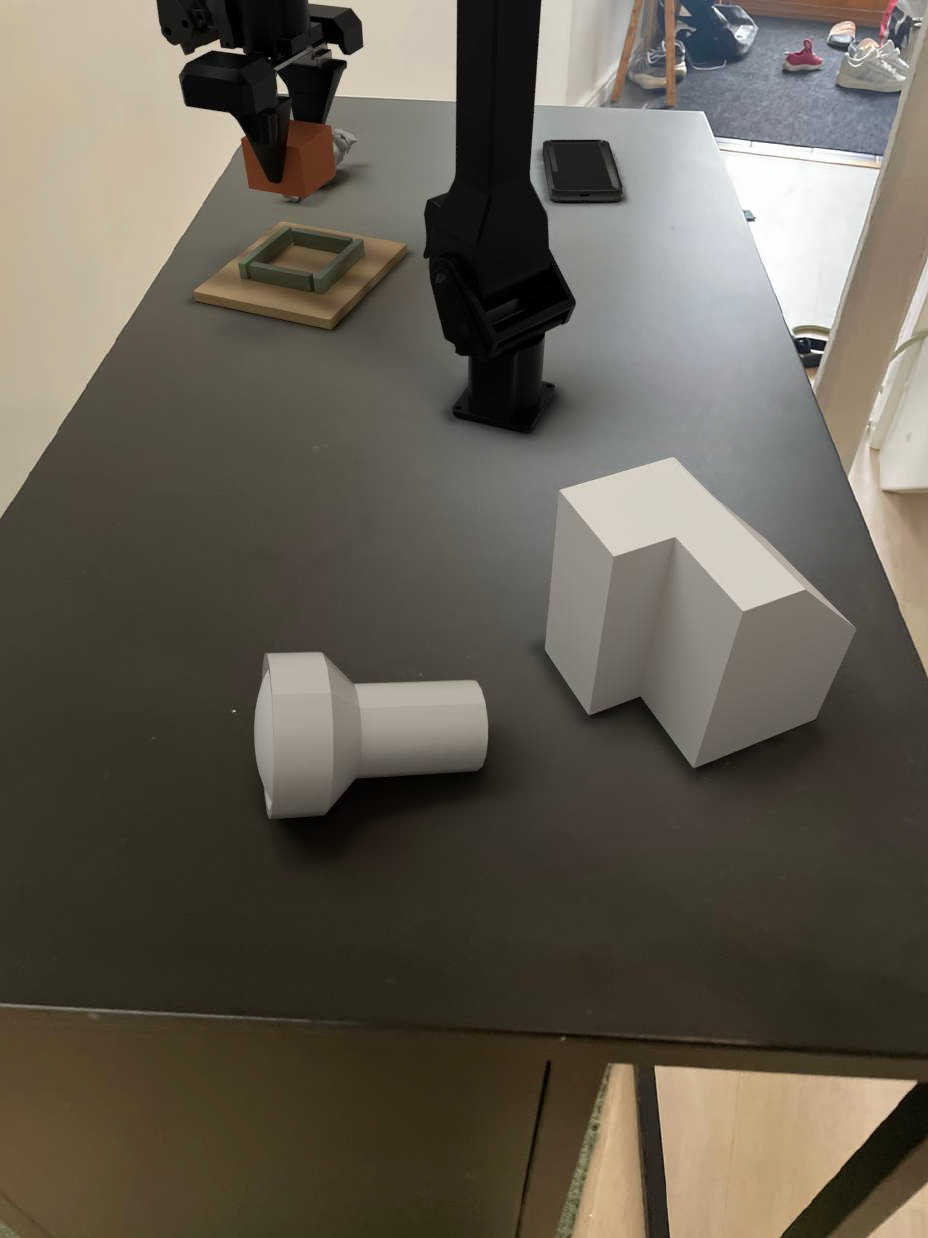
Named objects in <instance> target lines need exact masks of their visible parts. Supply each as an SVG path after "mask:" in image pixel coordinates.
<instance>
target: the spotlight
mask: <svg viewBox="0 0 928 1238" xmlns="http://www.w3.org/2000/svg"><path fill="white" fill-rule="evenodd" d="M487 712H488V711H487V705H486V700H485V697H484V693H483V690H482V688H481V685H480V684H479V683H478V681H477V680H475V679H454V680H453V679H452V680H449V679H448V680H428V681H427V680H422V681H418V680H417V681H393V682H392V681H391V682H387V681H386V682H361V683H357V682H356V683H353V682H352V681H351V680H350V679H349V678H348V677H347V676H346V675H345V674H344V672H342V670H340V669H339V668H338V667H337V665H335V664H334V662H332V661H331V659H330V658H329V657H328V656H326V655H325V653H323V652H321V651H299V652H297V651H296V652H295V651H293V652H292V651H291V652H290V651H289V652H265V653H264V657H263V661H262V673H261V684H260V688H259V691H258V694H257V699H256V705H255V710H254V724H253V734H254V735H253V740H254V741H253V742H254V751H255V752H254V753H255V761H256V765H257V771H258V774H259V777H260V779H261V783H262V785H263V793H264V794H263V795H264V801H265V809H266V815H267V816H268V819H269V820H279V819H290V818H291V819H292V818H293V819H295V818H305V817H317V816H319V817H321V816H326V814H327V813H328V812H329V811H330V810H331V809H332V807H333V806H335V804H336V803H337V801H338V800H339V799H340V798H341V796H343V794H344V793H345V792H346V791H347V790H348V789H349V787H350V786H351V785H352V784H353V782H354V781H355V780H358V779H371V778H373V779H374V778H389V777H403V776H420V775H436V774H437V775H439V774H451V773H453V774H455V773H468V772H478V771H479V770H480V769H482V768H483V765H484V763H485V759H486V757H487V751H488V743H489V720H488V719H489V718H488V713H487Z"/></svg>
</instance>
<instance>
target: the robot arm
mask: <svg viewBox="0 0 928 1238" xmlns="http://www.w3.org/2000/svg"><path fill="white" fill-rule="evenodd" d="M155 1H156V11H157V17H158V23H159V27H160V31H161V35H162V37H164V39H165V40H166V41H167V42H168V43H169V44H170V45H171V46H174V47H176V46H178V45H179V46H180V48H181V50H182V53H183V54H184V56H185V57H187V56H189V55H191V54H194V53H195V52H196V49H198V48H201V47H203V46H205V47H206V46H208V45H211V44H212V43H215V42H216V41H218V40H219V46H220V48H221V49H226V50H236V49H242V53H236V52H229V51H222V50H214V49H211V50H209V51H207V52H205V53H203V54H201V55H200V56H197V57H196V58H194V59H192V60H189V61H188V62H185V64H184V66H183V67H182V69H181V71H180V73H179V74H178V80H179V84H180V85H179V86H180V90H181V93H182V94H181V95H182V99H183V104H184V106H185V107H186V108H187V107H188V108H195V109H200V110H206V111H213V112H218V113H219V112H221V113H225V114H230V115H231V116H232V117H233V118H234V119H235V120H236V122H237V124H238V125H239V126H240V128H241V130H242V131H243V133H244V136H246V137H247V139H248V141H249V143H250V145H251V147H252V149H253V151H254V153H255V155H256V157H257V159H258V161H259V163H260V165H261V167H262V169H263V171H264V173H265V175H266V177H267V179H268V181H269V182H271V183H277V184H279V183H280V182H281V181H282V177H283V171H284V166H285V157H286V148H287V139H288V130H289V122H290V119H291V115H292V118H293V119H292V120H297V121H304V122H311V123H317V124H324V125H326V123H327V120H328V116H329V114H330V110H331V107H332V105H333V102H334V99H335V96H336V94H337V91H338V87H339V84H340V82H341V79H342V76H343V74H344V72H345V70H346V69H348V61H347V60H346V59H342V58H341V59H340V58H334V57H333V53H332V52H333V50H332V49H331V48H328V47H329V46H328V44H329V45H336V46H338V49H339V50H340V51H341V53H342V55H343V56H351V55H353V54H355V53H357V52H358V51H360V50H362V49H363V48H364V35H363V22H362V20H361V19H360V17H359V16H358V15H357V14H356V12H355V11H354V10H353V9H352V8H351V7H346V6H345V7H344V6H337V5H328V4H318V3H309V0H155ZM542 1H543V0H456V44H455V45H456V46H455V48H456V49H455V50H456V53H455V54H456V57H455V58H456V59H455V61H456V62H455V64H456V65H455V171H454V178H453V181H452V183H451V185H450V187H449V189H448V191H447V192H444V193H442V194H441V193H440V194H438V195H436V196H433V197H430V198H428V199H427V200H426V203H425V207H424V211H423V218H424V227H425V246H424V249H423V254H422V257H423V259H424V260H427V259H428V272H429V281H430V286H431V287H430V288H431V291H432V295H433V298H434V303H435V306H436V310H437V314H438V319H439V323H440V326H441V330H442V334H443V338H444V339H445V340H446V341H447V342H449V343H450V344H453V347H454V353H455V354H456V355H458V356H460V357H467V386H466V387H465V389H464V391H463V392H462V393H461V395H460V396H459V397H458V399H457V400H456V402H454V404H453V406H452V409H451V410H452V411H451V413H452V415H453V416H456V417H459V418H464V419H469V420H473V421H477V422H481V423H486V424H489V425H493V426H498V427H502V428H503V427H504V428H508V429H511V430H515V431H521V432H524V433H525V432H526V433H527V432H531V431H532V430H533V428H534V427H535V425H536V424H537V422H538V420H539V419H540V417H541V415H542V414H543V412H544V410H545V408H546V407H547V405H548V404H549V402H550V400H551V399H552V397H553V395H554V394H555V392H556V385H555V383H552V382H548V381H544V380H543V373H544V361H545V360H544V359H545V358H544V357H545V345H546V333H547V332H549V331H551V330H553V329H555V328H557V327H559V326H564V325H566V324H568V323H569V322H570V319H571V317H572V315H573V312H574V310H575V309H576V305H577V301H576V298H575V297H574V294H573V292H572V290H571V289H570V286H569V284H568V282H567V280H566V279H565V277H564V275H563V272H562V270H561V269H560V267H559V264H558V263H557V261H556V259H555V256H554V254H553V253H552V251H551V249H550V239H549V238H550V235H549V233H550V232H549V214H548V212H547V210H546V208H545V206H544V205H543V202H542V200H541V199H540V196H539V194H538V192H537V190H536V189H535V186H534V184H533V183H532V179H531V162H532V149H533V136H534V135H533V134H534V133H533V132H534V119H535V106H536V105H535V104H536V89H537V88H536V87H537V73H538V61H539V58H538V57H539V45H540V44H539V42H540V32H541V31H540V30H541V29H540V28H541V15H542ZM278 77H279V78H280V79H281V81H282V82H283V83H284V85H285V86H286V89H287V94H288V96H287V95H279V90H278V81H277V80H278V79H277V78H278Z"/></svg>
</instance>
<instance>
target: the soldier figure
mask: <svg viewBox="0 0 928 1238" xmlns="http://www.w3.org/2000/svg"><path fill="white" fill-rule="evenodd" d="M332 140H333V150H334V160H335V171H336V172H337V169H338V165H340V164H341V162H343V161H344V157H345V155H349V152H350V150H351V149H352V146H353V144H355V143H358V139H357V138H356V137H355V136H354V135H353V134H352V133H350V132H348V131H345V130H344V129H341V128H333V132H332ZM334 177H335V176H333V177H332V178H331V179H330V180H328V181H327V182H326V183H325V184H323V185H322V186H327V185H328V184H329V183H332V181H333V179H334ZM322 186H321V187H322ZM281 195H282V197H283V198H285V199H288V200H290V201H291V202H293V203H297V202H298V201H299V200H300V199H299V198H300V197H294V196H289V195H283V194H281Z"/></svg>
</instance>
